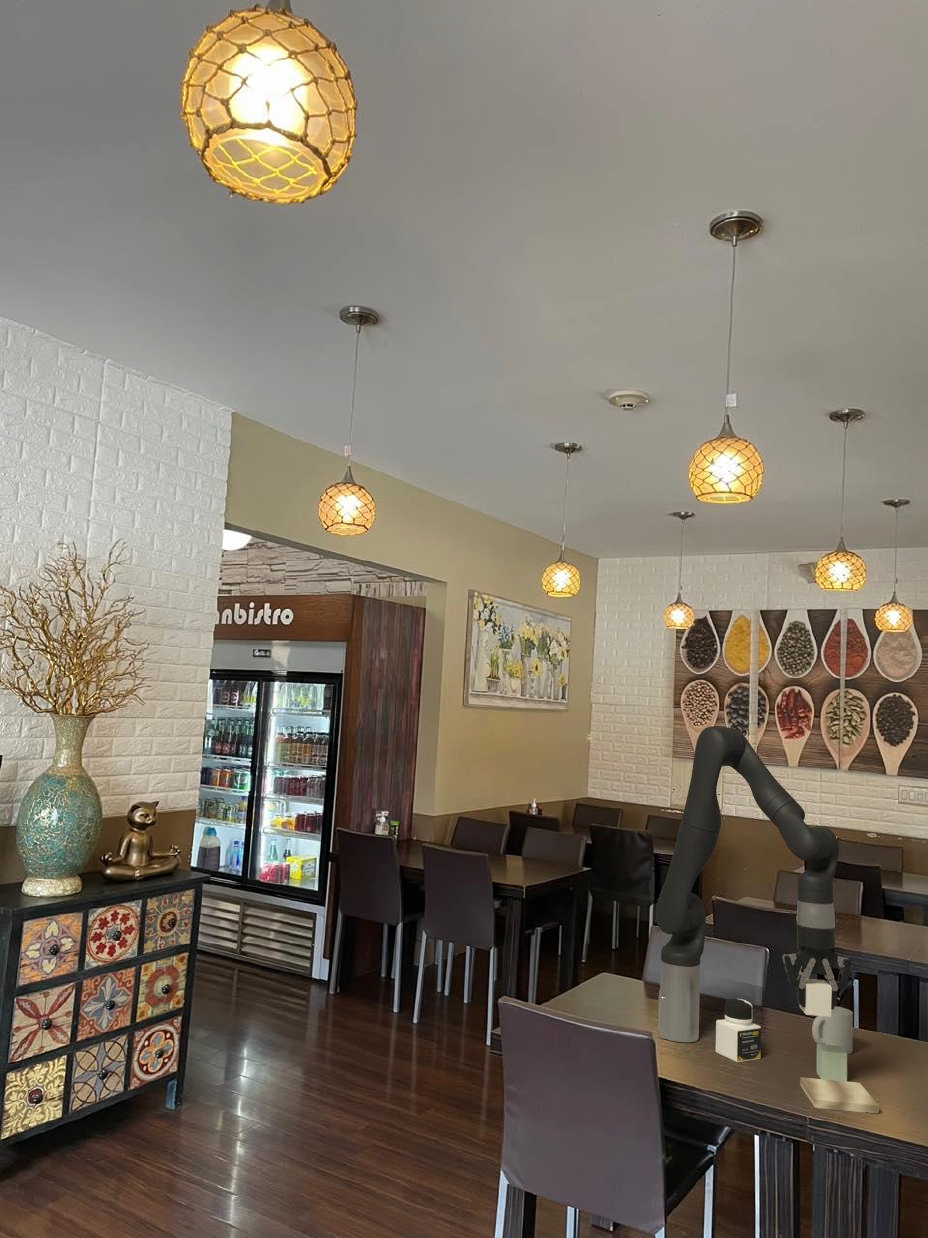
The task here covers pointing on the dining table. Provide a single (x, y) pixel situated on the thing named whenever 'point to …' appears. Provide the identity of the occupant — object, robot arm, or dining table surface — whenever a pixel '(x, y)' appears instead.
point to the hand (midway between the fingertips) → (817, 1007)
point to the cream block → (818, 998)
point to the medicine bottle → (738, 1032)
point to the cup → (834, 1029)
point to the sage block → (831, 1062)
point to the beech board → (838, 1095)
